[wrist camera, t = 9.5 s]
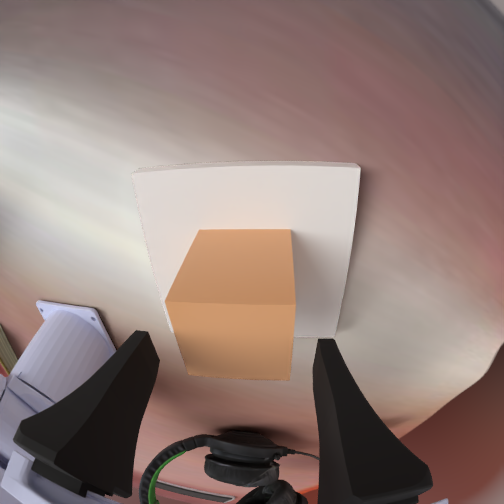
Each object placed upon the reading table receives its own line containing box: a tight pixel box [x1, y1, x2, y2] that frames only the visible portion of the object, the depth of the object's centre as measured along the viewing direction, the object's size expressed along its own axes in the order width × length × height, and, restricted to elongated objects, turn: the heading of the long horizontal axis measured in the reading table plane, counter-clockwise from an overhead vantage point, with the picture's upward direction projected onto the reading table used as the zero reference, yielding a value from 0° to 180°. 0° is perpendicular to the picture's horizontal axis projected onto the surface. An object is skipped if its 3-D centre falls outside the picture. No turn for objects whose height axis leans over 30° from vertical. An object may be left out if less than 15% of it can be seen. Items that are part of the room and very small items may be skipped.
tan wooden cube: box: [165, 229, 296, 380], centre depth 15 cm, size 5×5×6 cm
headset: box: [139, 431, 320, 504], centre depth 25 cm, size 18×14×29 cm
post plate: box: [131, 161, 361, 338], centre depth 16 cm, size 12×12×4 cm
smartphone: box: [155, 480, 235, 503], centre depth 65 cm, size 13×27×2 cm, turn 73°
